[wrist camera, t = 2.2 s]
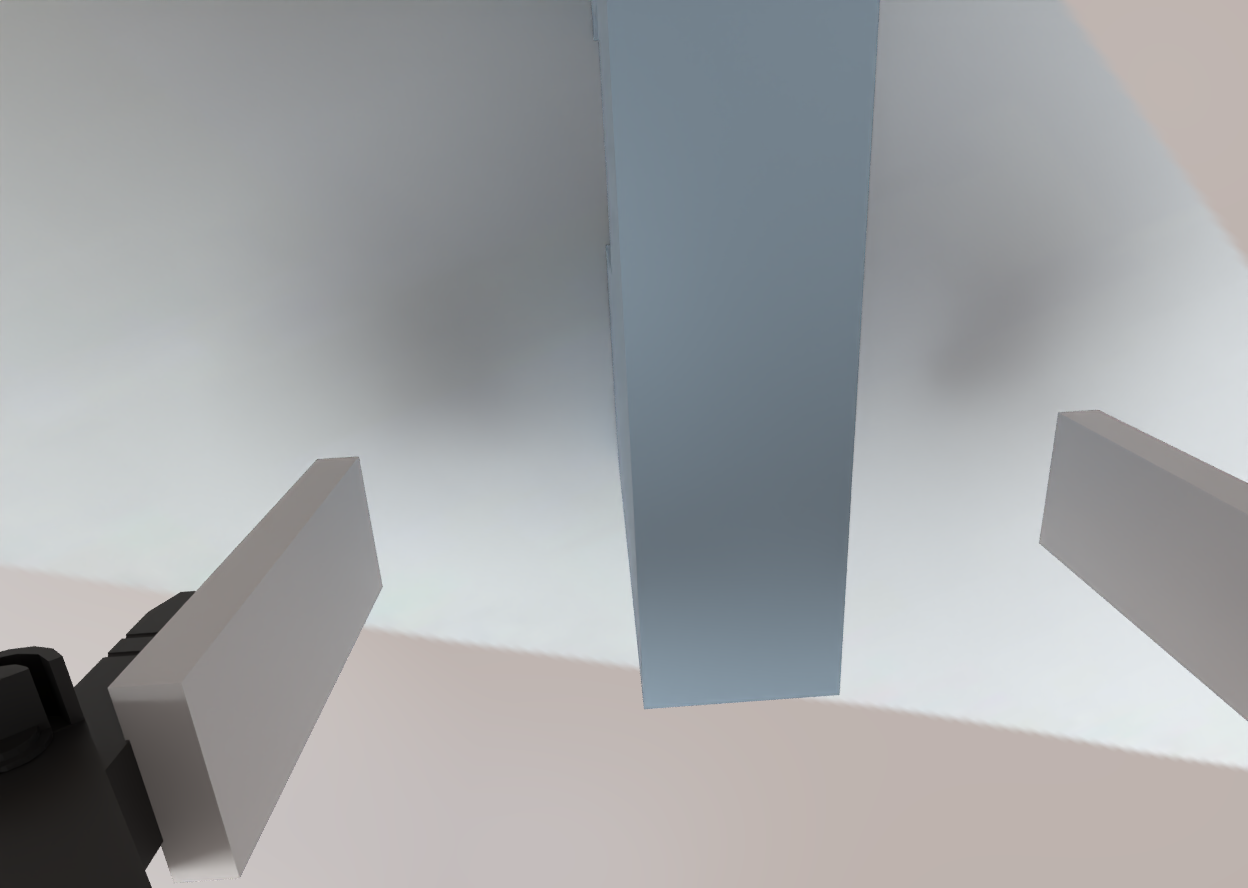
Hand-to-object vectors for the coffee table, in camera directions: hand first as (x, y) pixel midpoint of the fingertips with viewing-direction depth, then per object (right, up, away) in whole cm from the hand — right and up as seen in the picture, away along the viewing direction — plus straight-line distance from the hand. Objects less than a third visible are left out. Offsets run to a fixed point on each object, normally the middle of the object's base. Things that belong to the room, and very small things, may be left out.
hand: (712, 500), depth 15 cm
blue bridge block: (-1, +8, +4) cm, 9 cm away
